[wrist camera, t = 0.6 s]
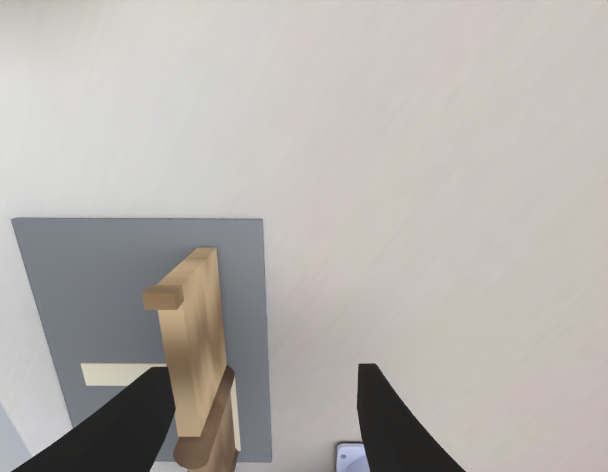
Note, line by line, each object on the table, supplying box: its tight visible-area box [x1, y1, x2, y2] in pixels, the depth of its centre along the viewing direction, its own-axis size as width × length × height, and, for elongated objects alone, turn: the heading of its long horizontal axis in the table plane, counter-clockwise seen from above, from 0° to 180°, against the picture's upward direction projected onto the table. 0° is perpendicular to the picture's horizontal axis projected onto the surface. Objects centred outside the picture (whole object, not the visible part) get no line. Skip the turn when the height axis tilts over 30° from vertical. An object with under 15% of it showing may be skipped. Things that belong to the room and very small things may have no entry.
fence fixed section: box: [173, 365, 239, 472], centre depth 20 cm, size 10×2×6 cm, turn 0°
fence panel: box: [142, 247, 227, 437], centre depth 17 cm, size 9×1×6 cm, turn 0°
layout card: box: [11, 218, 272, 462], centre depth 21 cm, size 21×16×1 cm
